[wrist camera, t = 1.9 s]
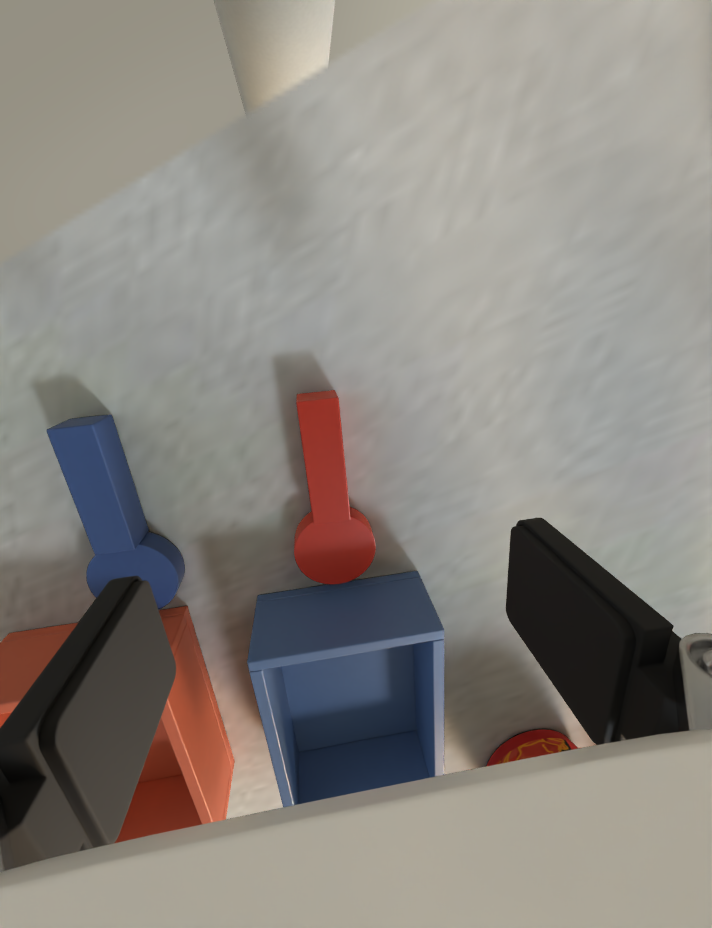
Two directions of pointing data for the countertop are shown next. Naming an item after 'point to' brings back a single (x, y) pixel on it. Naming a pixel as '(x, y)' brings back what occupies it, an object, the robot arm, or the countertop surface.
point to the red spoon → (329, 499)
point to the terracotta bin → (177, 736)
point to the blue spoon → (113, 509)
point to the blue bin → (349, 685)
